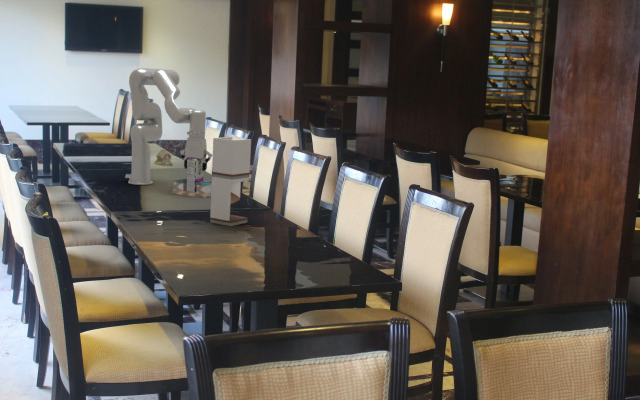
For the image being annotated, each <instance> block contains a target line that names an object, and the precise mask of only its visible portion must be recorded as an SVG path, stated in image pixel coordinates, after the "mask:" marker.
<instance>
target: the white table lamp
mask: <svg viewBox="0 0 640 400" xmlns="http://www.w3.org/2000/svg"><path fill="white" fill-rule="evenodd" d="M251 147H252V139H251V138H248V139H247V138H245V139H233V136H227V137H223V136H221V137H213V138H212V159H211V160H212V163H211V166H212V167H211V181H212V186H211V196H210V211H209V212H210V213H209V214H210V215H209V216H210V218H209V223H212V224H217V225H221V226H222V225H223V226H229V227H232V226H233V227H234V226H236V225H241V224H246V223H248V217H247V216H246V217H245V216H241V215H234V214H231V205H232V204H234V203H237V202H238V201H240V199H241V186H242V185H241V183H242V182H249V181H250V171H251V170H250V169H251V151H252V150H251V149H252V148H251Z"/></svg>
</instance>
